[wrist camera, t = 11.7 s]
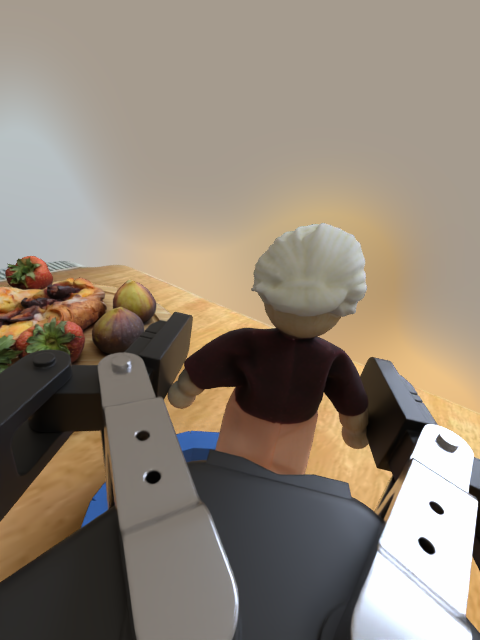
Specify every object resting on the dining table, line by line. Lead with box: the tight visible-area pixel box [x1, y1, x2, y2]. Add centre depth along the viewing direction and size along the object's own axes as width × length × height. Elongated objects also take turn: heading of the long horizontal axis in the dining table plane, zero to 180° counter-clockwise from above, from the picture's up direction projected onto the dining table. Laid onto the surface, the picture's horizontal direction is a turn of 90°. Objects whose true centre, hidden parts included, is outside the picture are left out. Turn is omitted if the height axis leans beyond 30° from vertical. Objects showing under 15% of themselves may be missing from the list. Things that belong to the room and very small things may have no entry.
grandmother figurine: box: [168, 223, 369, 475], centre depth 11 cm, size 8×4×13 cm, turn 97°
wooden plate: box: [0, 256, 172, 373], centre depth 36 cm, size 32×32×8 cm
